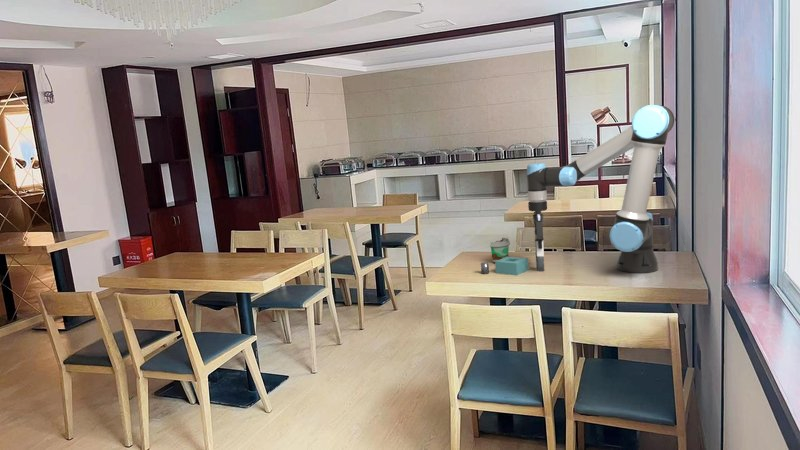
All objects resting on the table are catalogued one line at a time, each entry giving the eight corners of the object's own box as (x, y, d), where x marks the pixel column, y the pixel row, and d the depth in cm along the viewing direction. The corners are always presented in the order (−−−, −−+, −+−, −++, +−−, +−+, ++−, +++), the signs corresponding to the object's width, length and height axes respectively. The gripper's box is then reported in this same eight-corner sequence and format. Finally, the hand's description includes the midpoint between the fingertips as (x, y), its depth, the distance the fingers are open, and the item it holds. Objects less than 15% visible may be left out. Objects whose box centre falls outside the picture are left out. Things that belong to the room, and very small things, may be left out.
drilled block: (528, 269, 237) (528, 258, 236) (516, 275, 230) (516, 263, 229) (507, 267, 243) (507, 256, 243) (495, 273, 236) (495, 261, 235)
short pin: (490, 272, 237) (489, 262, 237) (486, 274, 235) (485, 264, 234) (484, 272, 239) (483, 261, 239) (480, 273, 237) (479, 263, 236)
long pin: (545, 270, 235) (544, 234, 232) (542, 271, 232) (540, 236, 230) (538, 269, 237) (537, 234, 234) (535, 271, 234) (533, 235, 232)
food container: (503, 265, 249) (502, 243, 248) (491, 264, 253) (489, 242, 252) (515, 259, 259) (514, 238, 258) (503, 258, 263) (502, 237, 261)
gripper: (527, 198, 242) (529, 248, 245) (529, 204, 220) (531, 259, 223) (544, 197, 240) (546, 247, 244) (548, 203, 218) (551, 259, 221)
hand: (539, 253), depth 233 cm, fingers open, 10 cm apart
